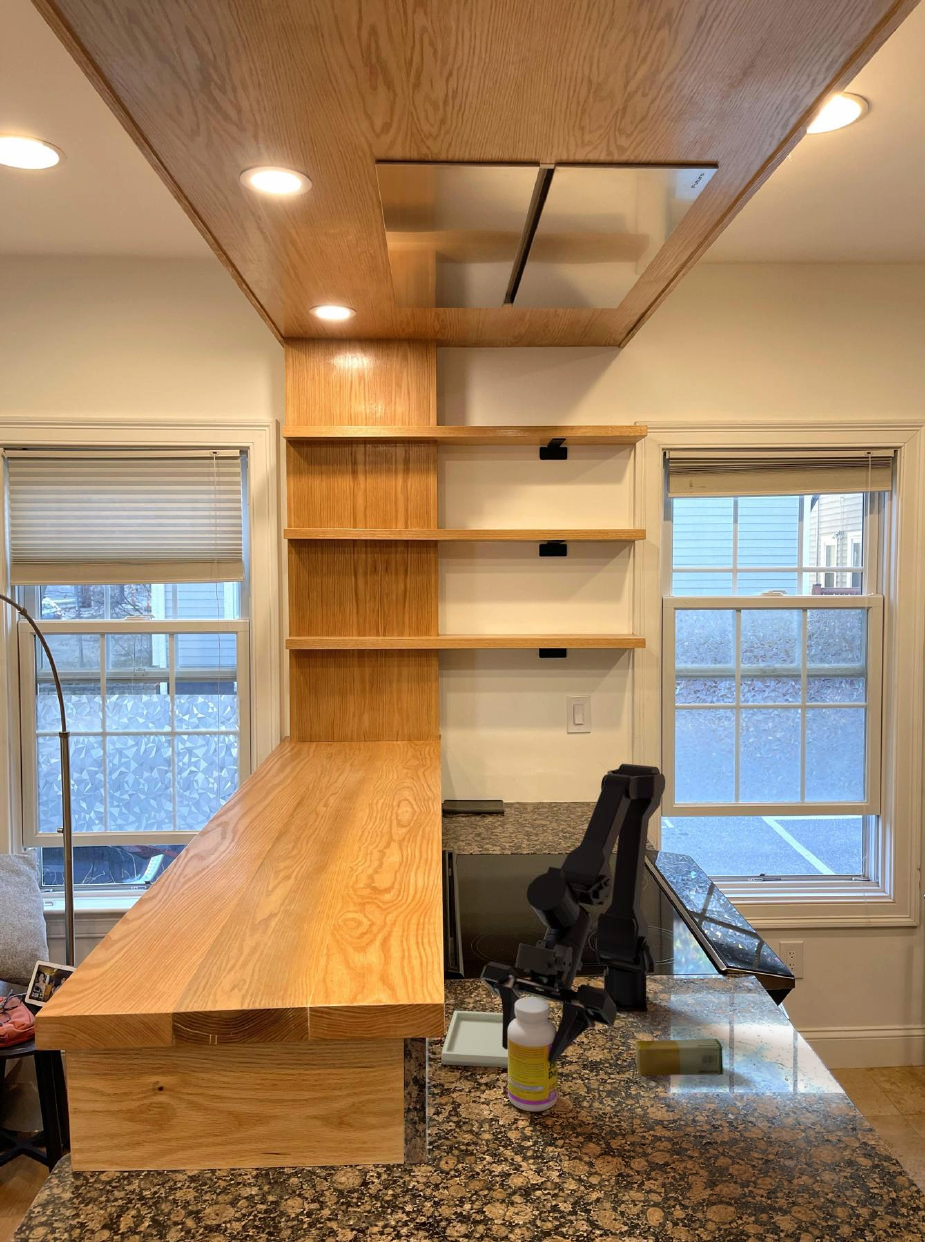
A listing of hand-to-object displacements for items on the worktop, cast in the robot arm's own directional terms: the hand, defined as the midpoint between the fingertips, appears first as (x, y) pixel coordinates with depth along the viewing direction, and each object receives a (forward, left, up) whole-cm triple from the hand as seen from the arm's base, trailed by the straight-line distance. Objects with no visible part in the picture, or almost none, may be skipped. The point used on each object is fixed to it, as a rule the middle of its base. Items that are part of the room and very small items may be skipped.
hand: (527, 1055), depth 115 cm
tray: (+6, -15, -7) cm, 18 cm away
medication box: (-21, -11, -7) cm, 25 cm away
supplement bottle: (-1, -1, -7) cm, 7 cm away
